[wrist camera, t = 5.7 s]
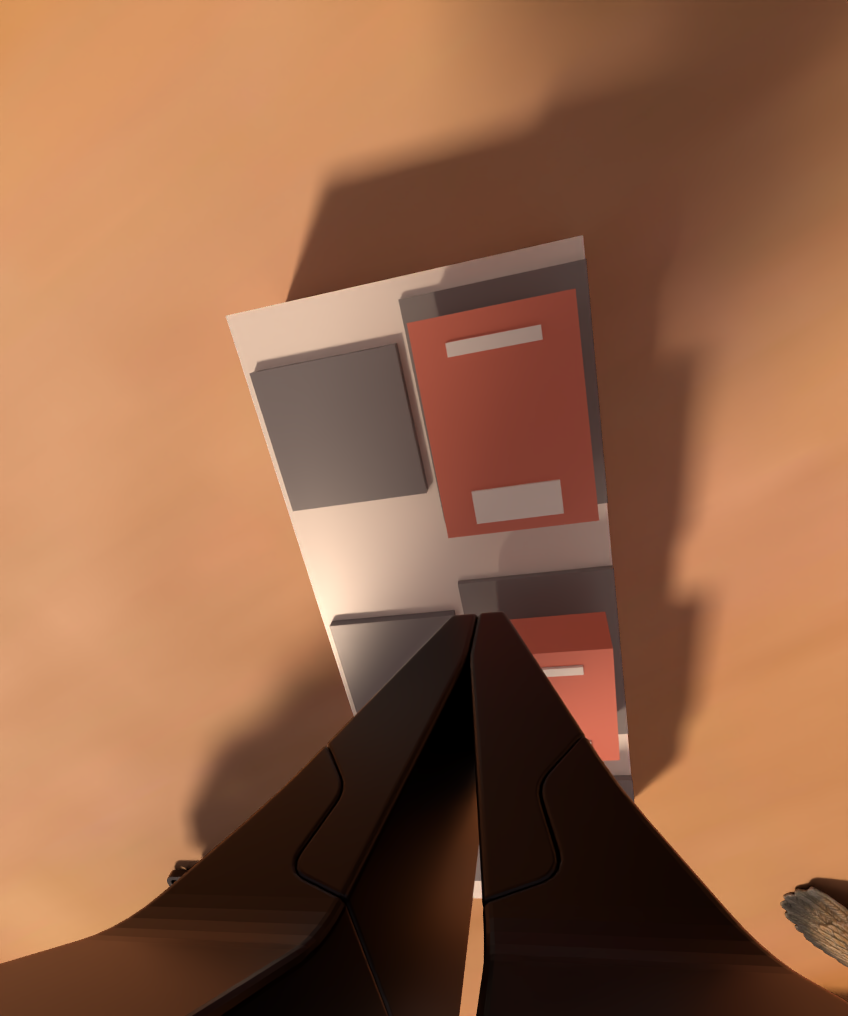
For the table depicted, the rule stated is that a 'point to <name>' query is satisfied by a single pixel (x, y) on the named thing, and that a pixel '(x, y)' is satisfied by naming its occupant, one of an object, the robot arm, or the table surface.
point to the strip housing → (412, 471)
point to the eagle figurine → (819, 921)
